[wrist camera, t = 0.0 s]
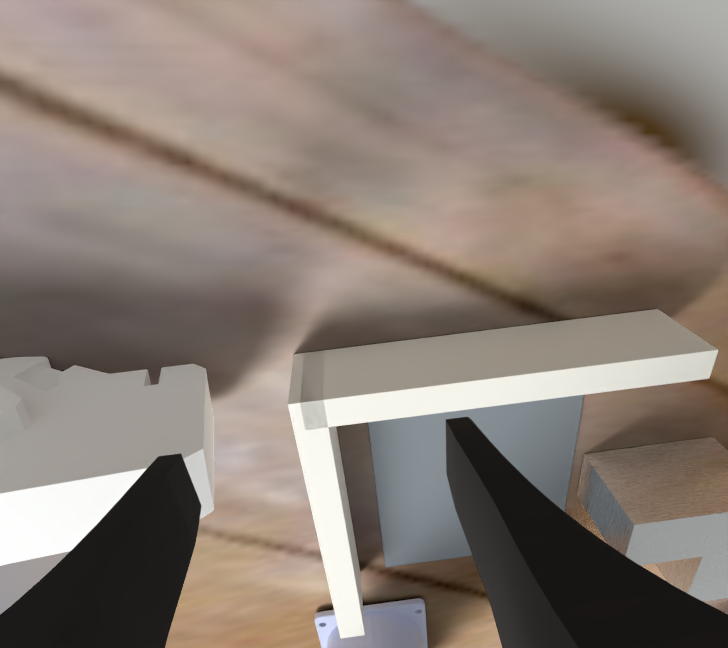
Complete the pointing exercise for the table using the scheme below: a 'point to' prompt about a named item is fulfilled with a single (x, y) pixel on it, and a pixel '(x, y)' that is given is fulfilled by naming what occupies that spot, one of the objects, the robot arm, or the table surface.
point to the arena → (462, 398)
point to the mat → (429, 479)
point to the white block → (91, 446)
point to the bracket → (665, 509)
